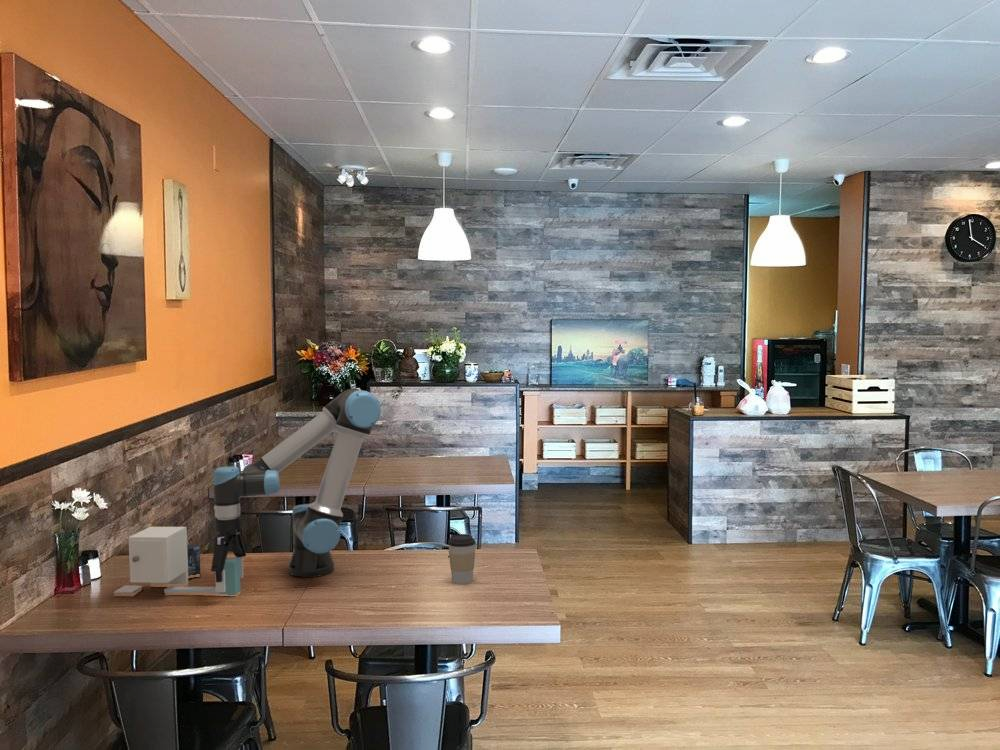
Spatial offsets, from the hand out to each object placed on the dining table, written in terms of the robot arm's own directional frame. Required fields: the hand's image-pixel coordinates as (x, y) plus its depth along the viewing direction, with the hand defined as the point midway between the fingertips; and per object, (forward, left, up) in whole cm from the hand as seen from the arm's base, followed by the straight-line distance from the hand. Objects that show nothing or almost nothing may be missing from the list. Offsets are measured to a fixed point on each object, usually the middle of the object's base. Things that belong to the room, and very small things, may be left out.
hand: (230, 584), depth 244 cm
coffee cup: (-71, -16, -4) cm, 73 cm away
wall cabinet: (+23, -1, -3) cm, 23 cm away
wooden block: (+33, 0, -4) cm, 33 cm away
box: (+22, -16, -4) cm, 27 cm away
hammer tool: (+9, 0, -3) cm, 10 cm away
